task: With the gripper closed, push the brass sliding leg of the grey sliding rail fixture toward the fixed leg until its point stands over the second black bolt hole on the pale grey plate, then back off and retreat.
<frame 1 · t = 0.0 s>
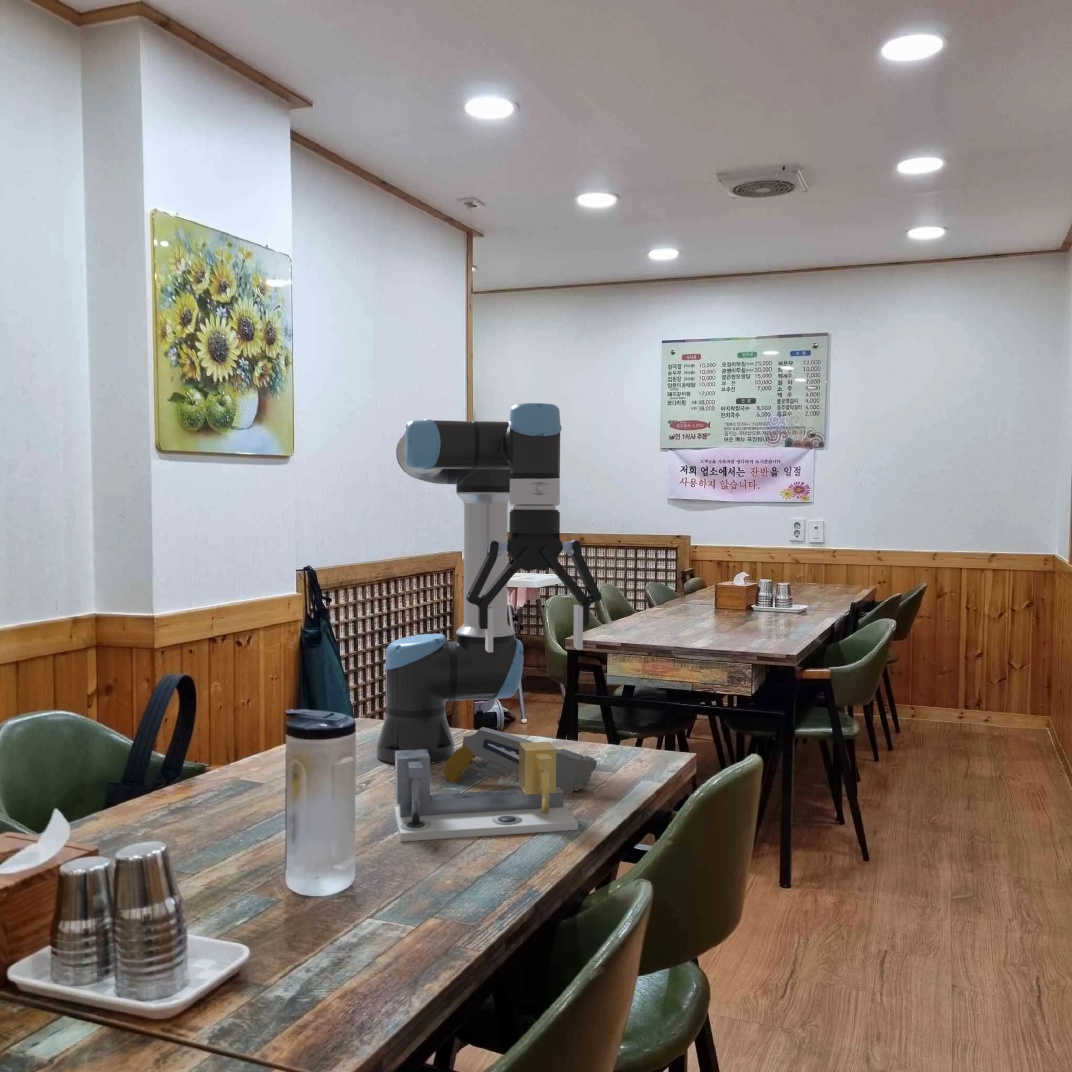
hand: (534, 650, 151), 28 cm above the table, fingers open, 13 cm apart
bolt plate: (484, 821, 158), on the table
sliding leg: (539, 777, 160), point 6 cm above the table, slide at 6.0 cm
gun: (518, 788, 177), on the table
grey sliding rail fixture: (482, 783, 158), on the bolt plate, point 6 cm above the table
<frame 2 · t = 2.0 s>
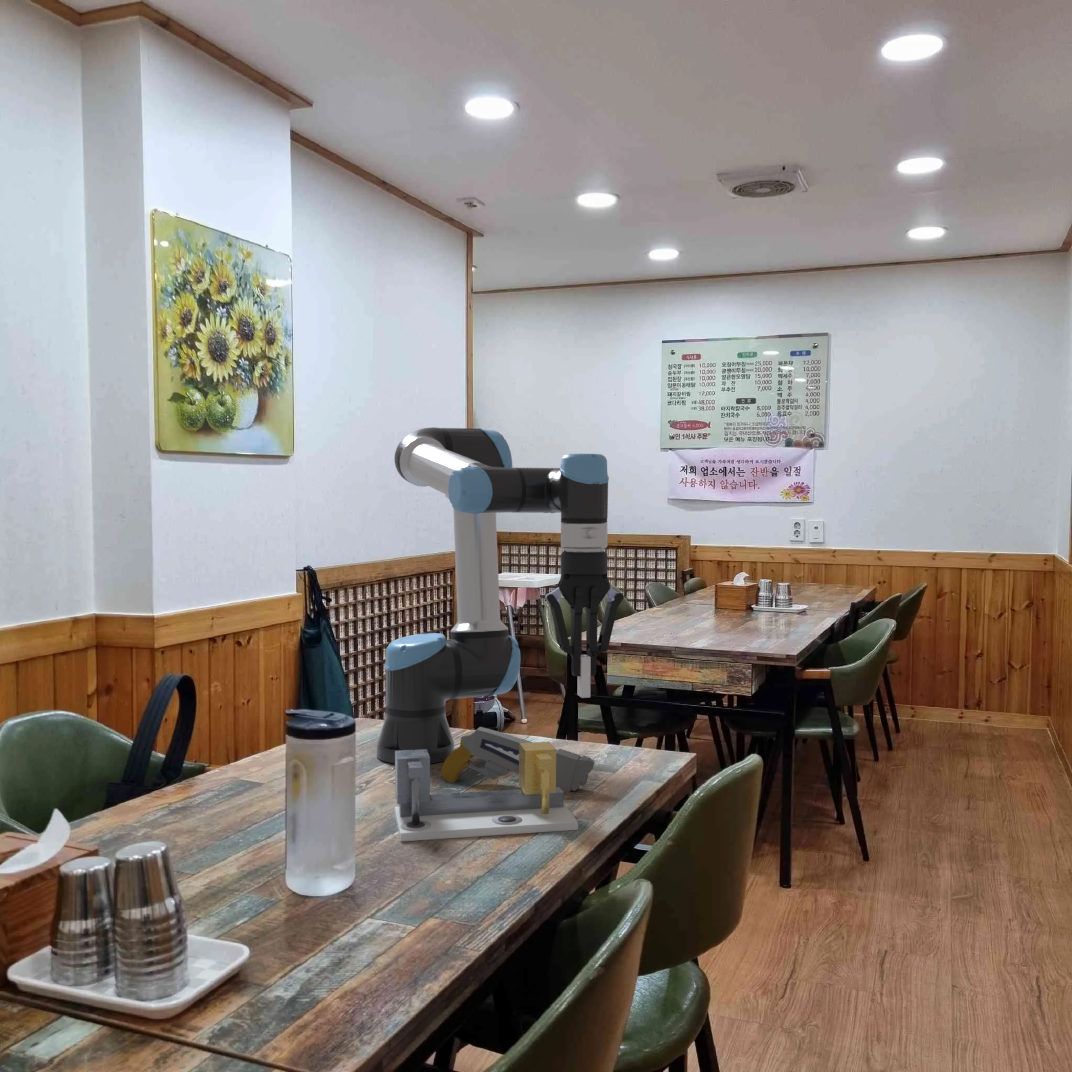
hand: (583, 695, 162), 19 cm above the table, fingers closed
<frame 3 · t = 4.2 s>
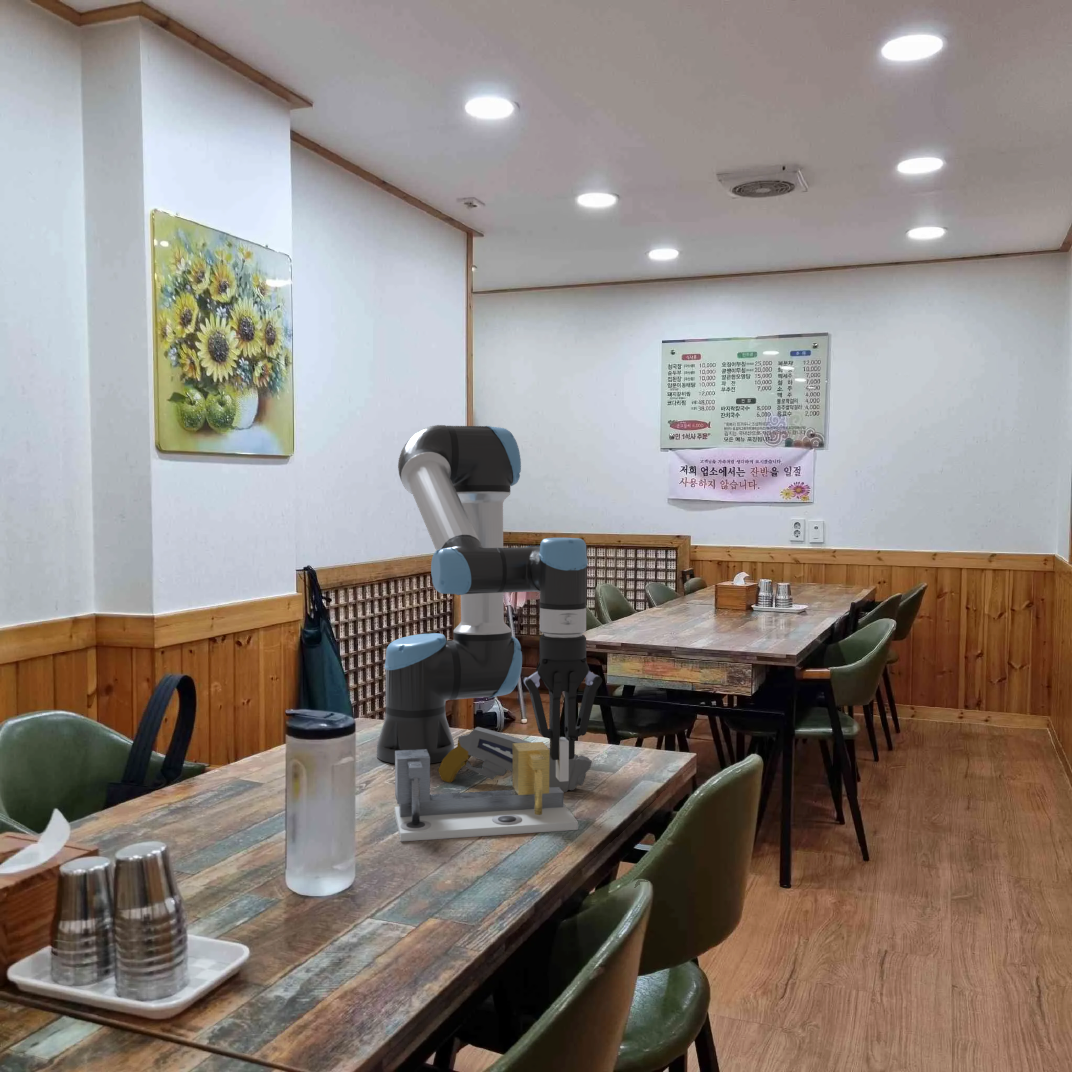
hand: (562, 778, 163), 5 cm above the table, fingers closed
sliding leg: (533, 777, 159), point 6 cm above the table, slide at 4.9 cm, touching gripper
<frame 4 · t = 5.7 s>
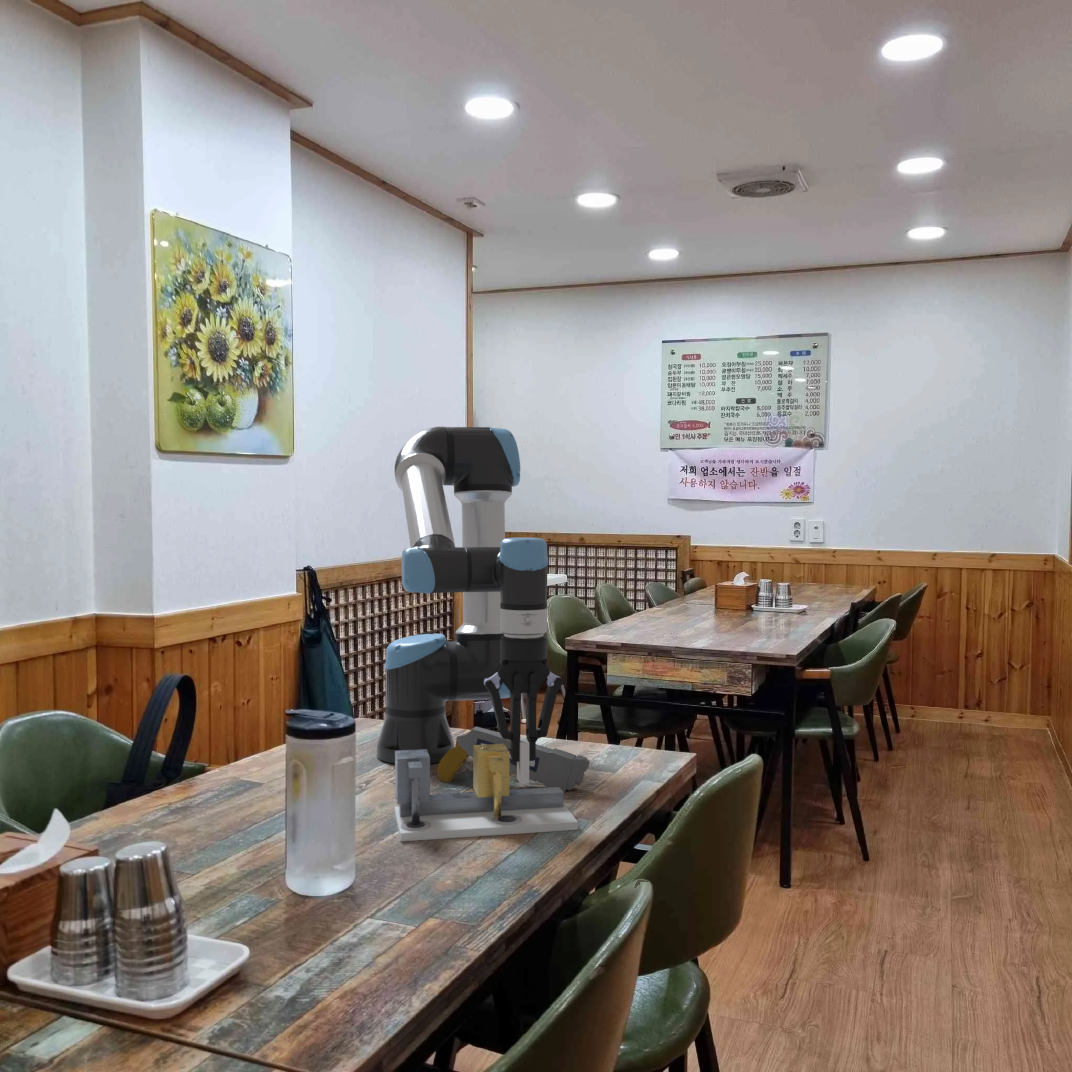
hand: (523, 780, 161), 5 cm above the table, fingers closed
sliding leg: (493, 779, 158), point 6 cm above the table, slide at -1.5 cm, touching gripper
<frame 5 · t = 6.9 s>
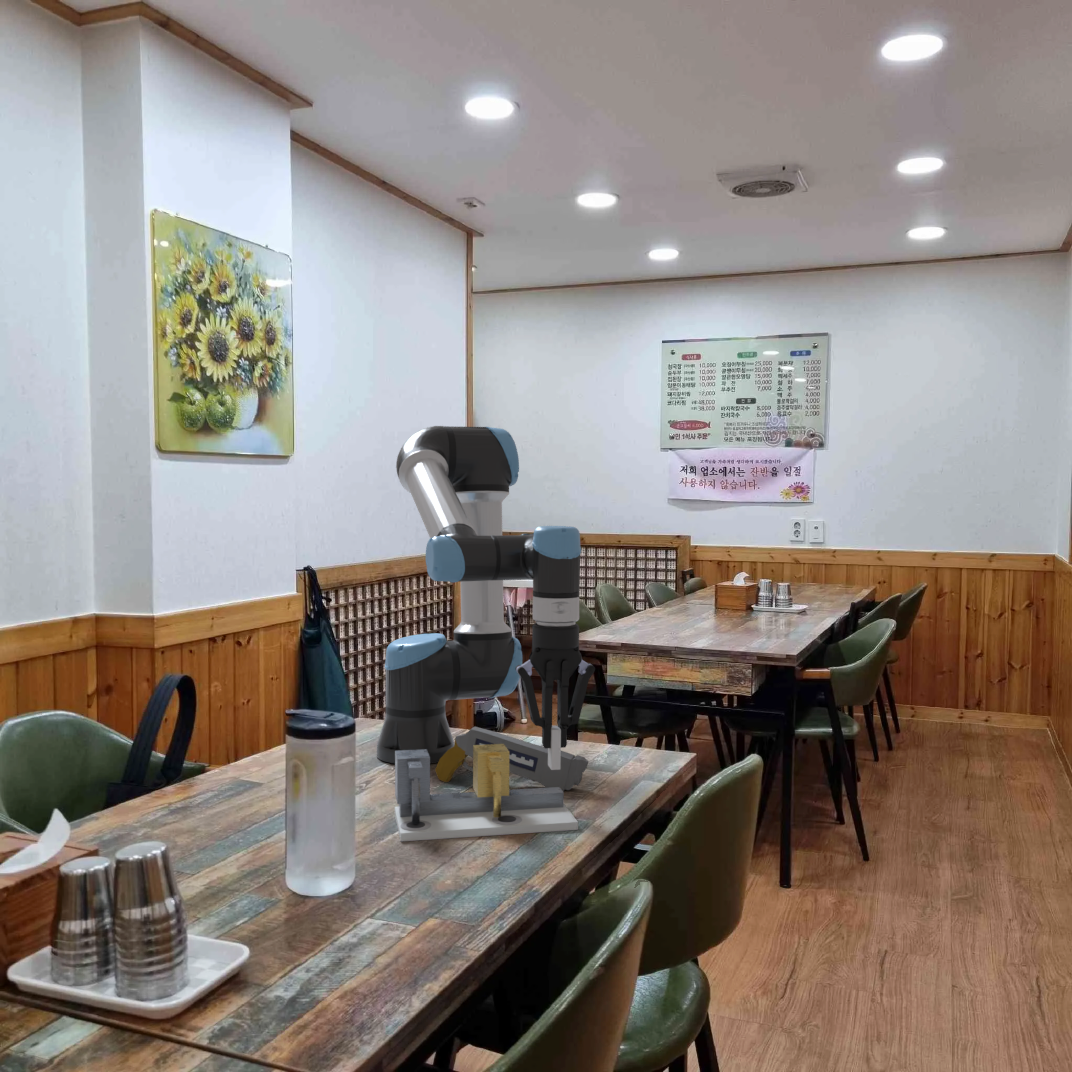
hand: (554, 767, 163), 7 cm above the table, fingers closed
sliding leg: (493, 779, 158), point 6 cm above the table, slide at -1.5 cm
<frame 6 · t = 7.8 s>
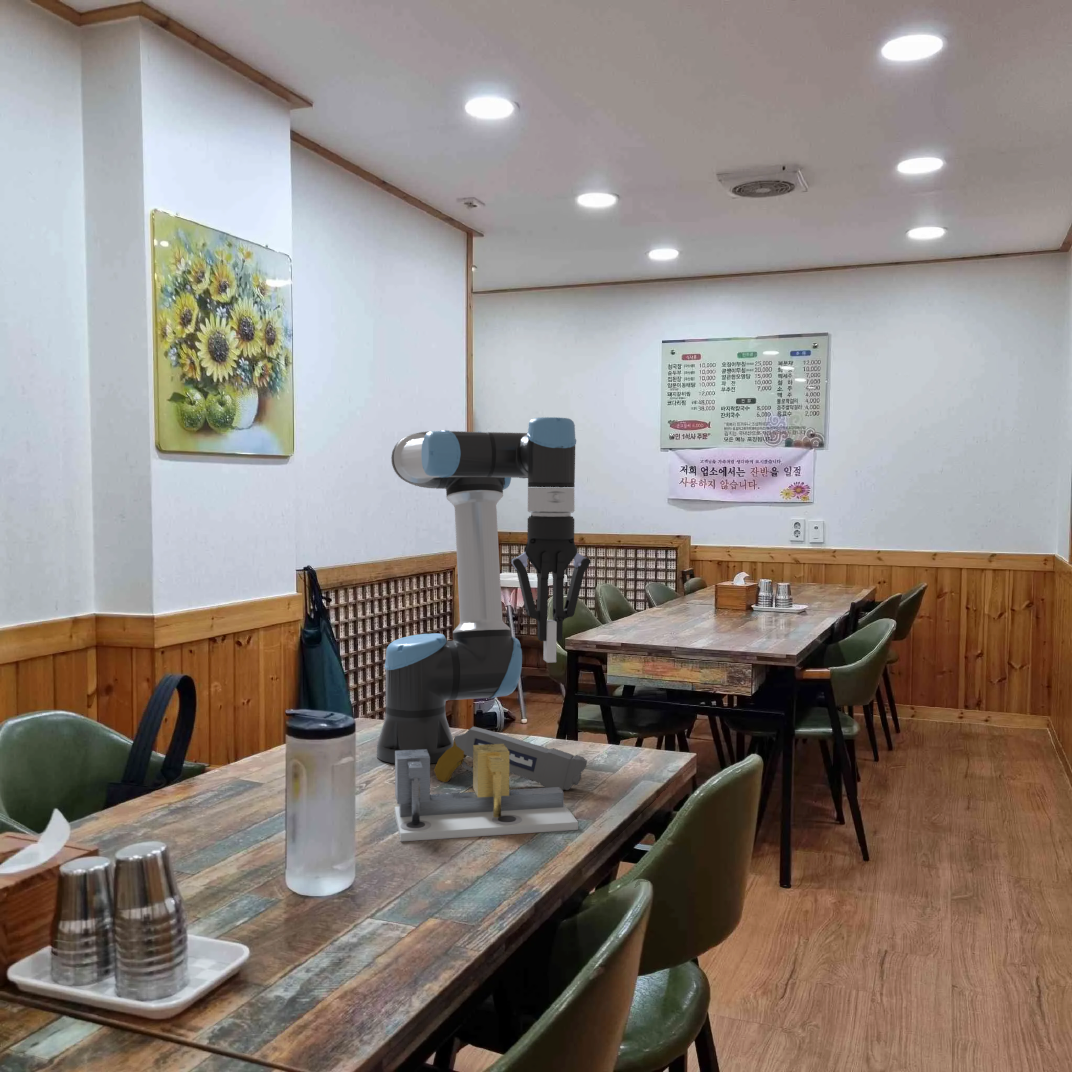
hand: (549, 660, 162), 24 cm above the table, fingers closed
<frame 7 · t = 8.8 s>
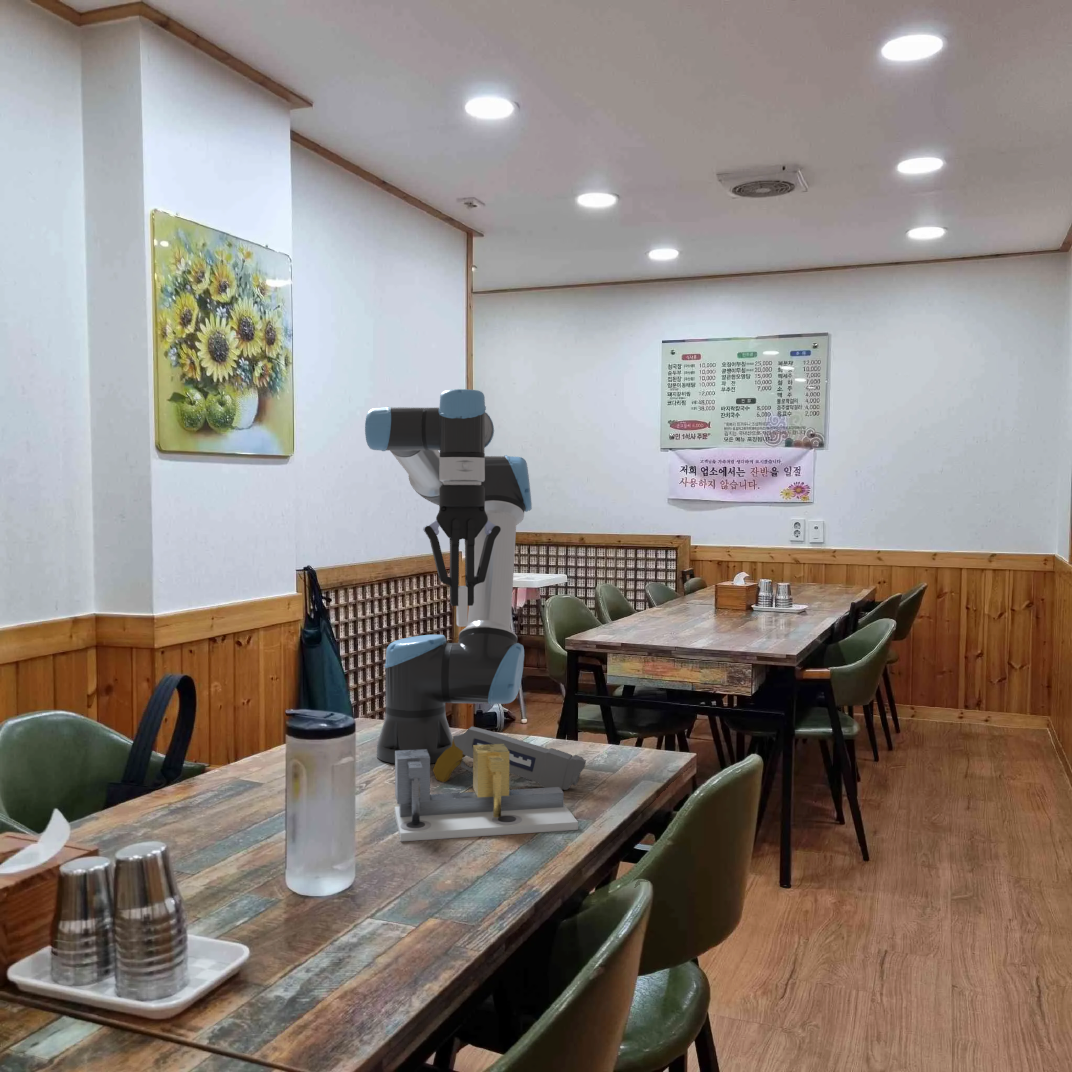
hand: (461, 625, 168), 29 cm above the table, fingers closed
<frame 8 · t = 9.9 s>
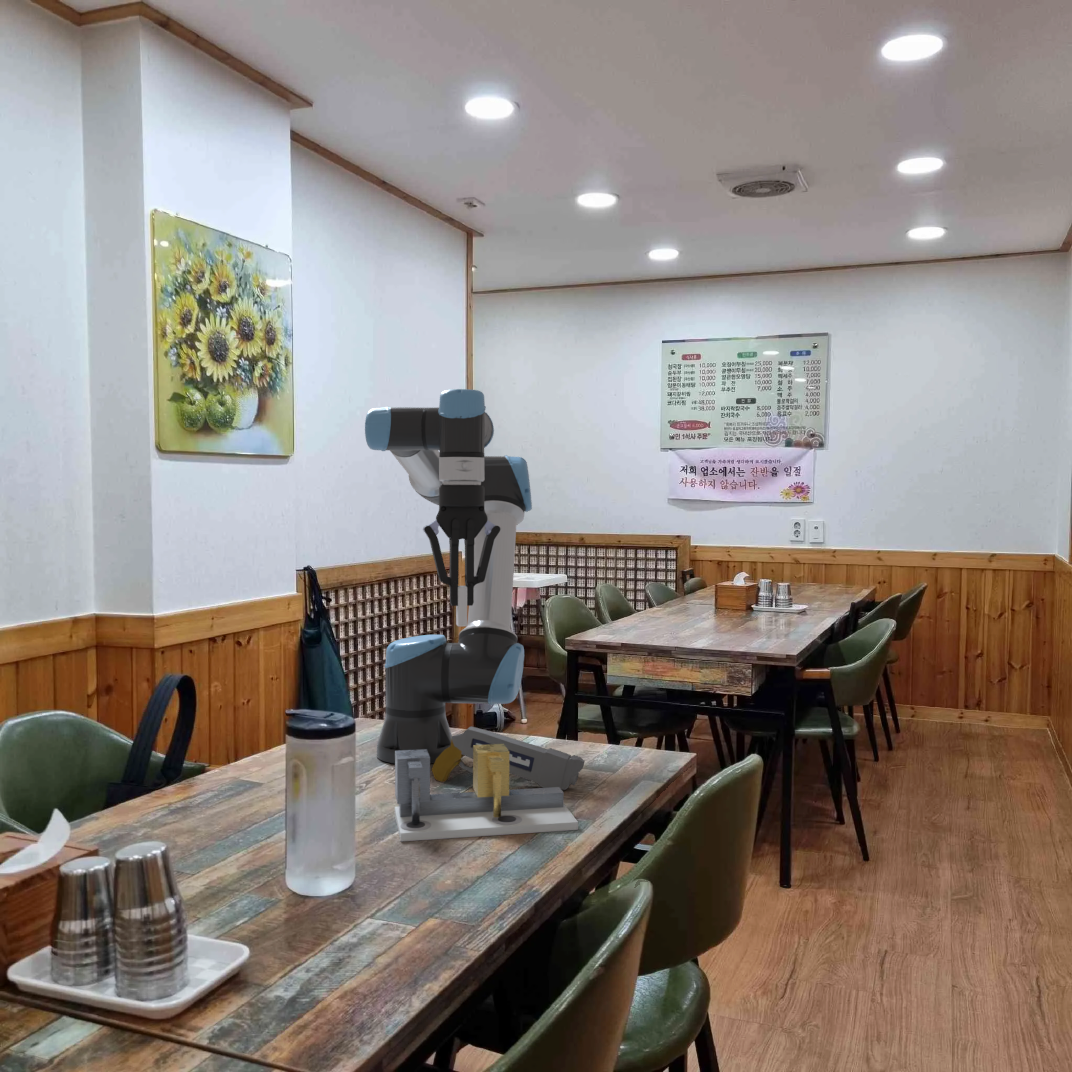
hand: (461, 625, 168), 29 cm above the table, fingers closed
at the end: sliding leg slide at -1.5 cm; sliding leg 1.5 cm from the target spot, resting on bolt plate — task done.
